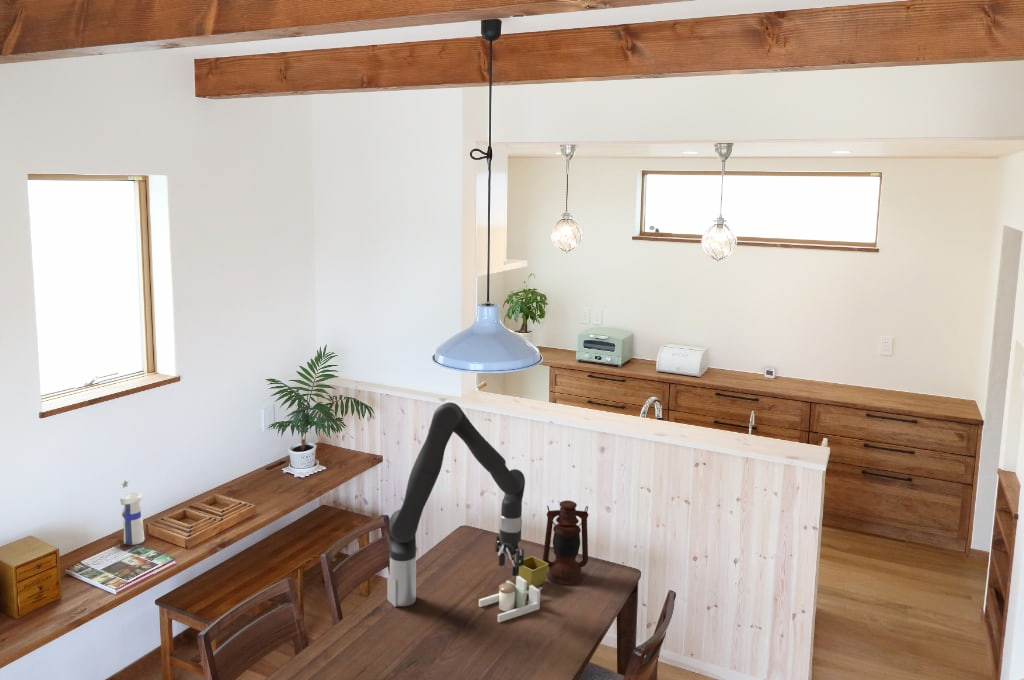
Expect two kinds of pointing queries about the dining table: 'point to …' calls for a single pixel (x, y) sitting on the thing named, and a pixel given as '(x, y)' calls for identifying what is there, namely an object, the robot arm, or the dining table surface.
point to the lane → (532, 606)
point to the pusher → (520, 596)
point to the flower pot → (533, 571)
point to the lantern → (566, 544)
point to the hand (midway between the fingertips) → (508, 570)
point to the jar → (507, 597)
